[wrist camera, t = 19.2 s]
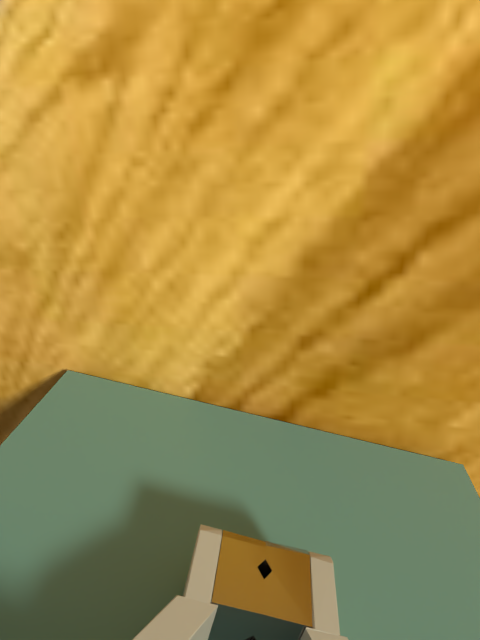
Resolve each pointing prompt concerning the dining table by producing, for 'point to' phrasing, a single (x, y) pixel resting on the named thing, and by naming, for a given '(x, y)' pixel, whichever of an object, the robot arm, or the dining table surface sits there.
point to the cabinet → (220, 515)
